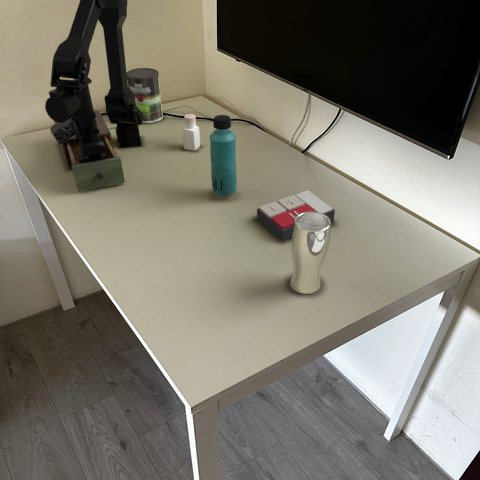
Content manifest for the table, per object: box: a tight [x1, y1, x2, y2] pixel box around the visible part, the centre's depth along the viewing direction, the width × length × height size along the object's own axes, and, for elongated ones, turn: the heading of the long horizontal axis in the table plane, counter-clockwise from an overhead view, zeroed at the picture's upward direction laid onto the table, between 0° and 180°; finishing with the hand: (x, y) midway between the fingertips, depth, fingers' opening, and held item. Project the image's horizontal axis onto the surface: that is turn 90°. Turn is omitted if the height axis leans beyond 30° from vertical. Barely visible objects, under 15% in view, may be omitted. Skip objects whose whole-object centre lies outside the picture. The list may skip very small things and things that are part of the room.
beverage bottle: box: [209, 114, 237, 197], centre depth 115 cm, size 6×7×20 cm
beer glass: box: [289, 212, 332, 295], centre depth 91 cm, size 7×7×15 cm
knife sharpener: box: [78, 153, 107, 164], centre depth 127 cm, size 7×3×5 cm, turn 112°
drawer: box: [66, 136, 126, 192], centre depth 127 cm, size 19×12×7 cm, turn 23°
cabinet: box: [53, 109, 115, 170], centre depth 138 cm, size 18×13×8 cm
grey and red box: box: [256, 190, 336, 242], centre depth 112 cm, size 11×4×15 cm
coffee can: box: [126, 67, 164, 124], centre depth 155 cm, size 10×10×14 cm
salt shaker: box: [181, 113, 201, 152], centre depth 139 cm, size 4×4×10 cm
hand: (94, 166), depth 128 cm, fingers closed on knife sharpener, 3 cm apart
